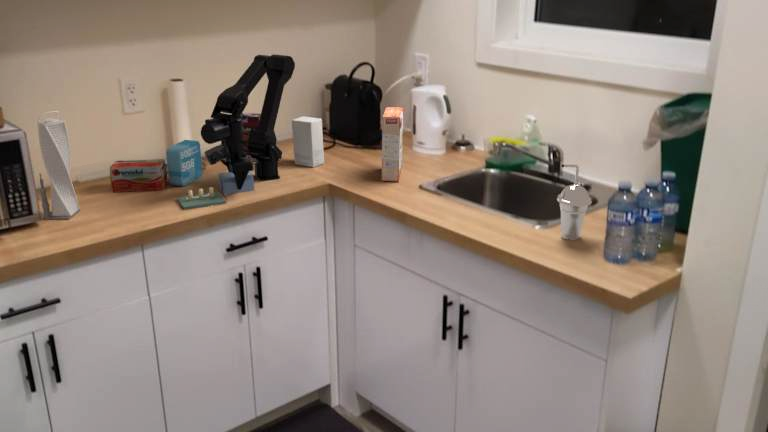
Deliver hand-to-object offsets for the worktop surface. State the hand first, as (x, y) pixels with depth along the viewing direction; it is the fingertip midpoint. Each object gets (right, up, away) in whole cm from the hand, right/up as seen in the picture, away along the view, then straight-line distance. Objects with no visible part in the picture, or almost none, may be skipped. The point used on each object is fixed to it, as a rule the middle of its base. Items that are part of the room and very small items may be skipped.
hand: (236, 186), depth 213 cm
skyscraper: (-43, -9, -19) cm, 48 cm away
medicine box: (-30, -1, +2) cm, 30 cm away
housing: (0, -1, 0) cm, 1 cm away
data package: (-17, +2, +8) cm, 19 cm away
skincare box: (+19, +8, +26) cm, 33 cm away
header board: (-8, -5, -10) cm, 13 cm away
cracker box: (+47, +4, +15) cm, 50 cm away
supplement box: (-1, +10, +30) cm, 32 cm away
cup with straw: (+92, -14, -32) cm, 98 cm away
